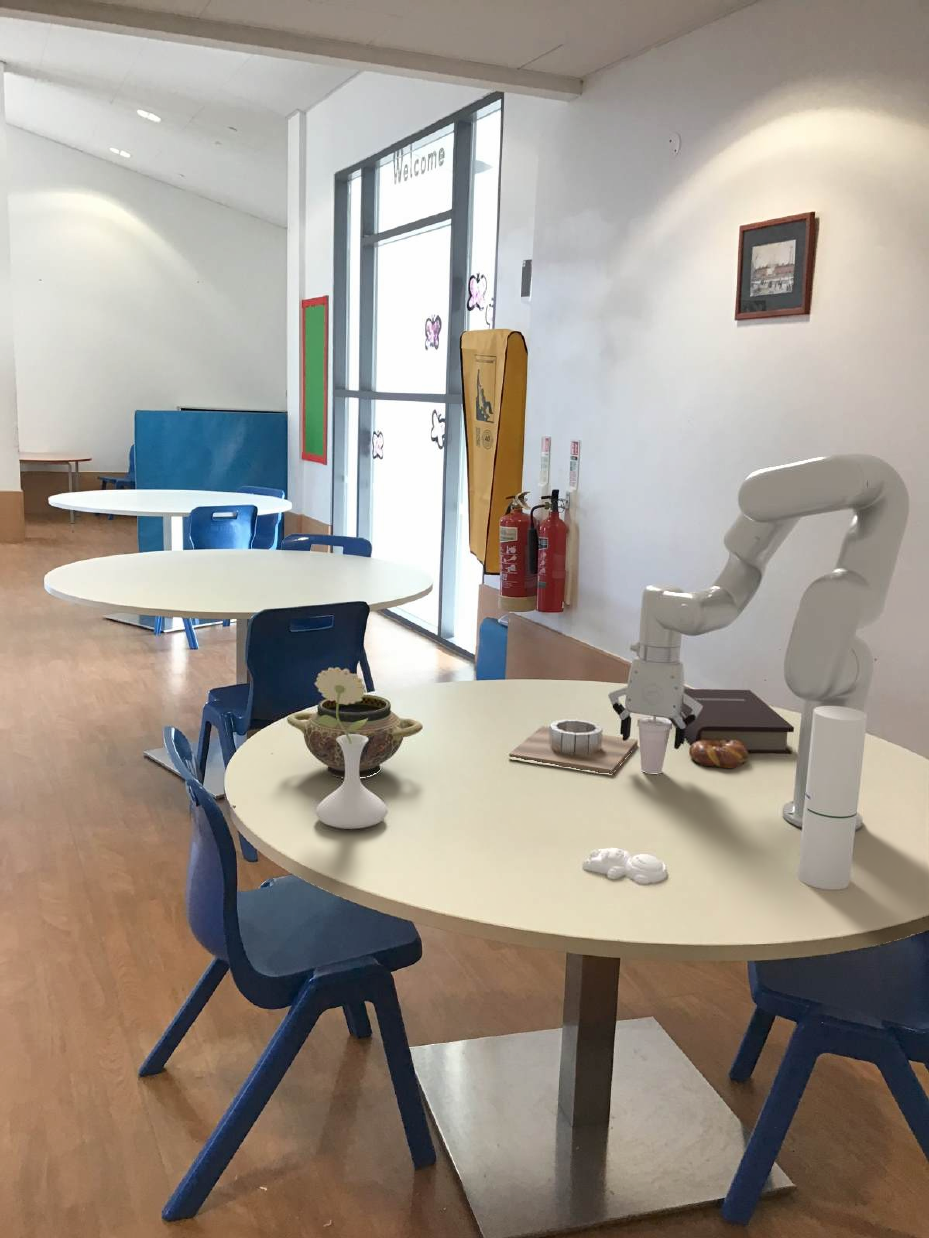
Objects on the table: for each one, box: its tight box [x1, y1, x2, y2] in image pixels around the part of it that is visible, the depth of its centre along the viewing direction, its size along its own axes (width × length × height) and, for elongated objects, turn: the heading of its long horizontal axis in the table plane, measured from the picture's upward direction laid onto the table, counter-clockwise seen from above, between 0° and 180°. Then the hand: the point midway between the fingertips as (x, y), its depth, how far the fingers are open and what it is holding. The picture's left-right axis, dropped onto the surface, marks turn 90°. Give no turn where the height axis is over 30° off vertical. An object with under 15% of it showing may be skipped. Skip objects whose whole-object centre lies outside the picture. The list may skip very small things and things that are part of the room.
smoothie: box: [636, 716, 673, 773], centre depth 198 cm, size 6×6×14 cm
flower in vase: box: [314, 666, 388, 830], centre depth 170 cm, size 13×11×25 cm
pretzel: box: [688, 739, 749, 769], centre depth 207 cm, size 12×11×4 cm
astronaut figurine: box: [581, 847, 668, 885], centre depth 157 cm, size 9×12×3 cm
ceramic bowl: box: [286, 694, 423, 778], centre depth 193 cm, size 24×18×15 cm
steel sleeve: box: [549, 718, 603, 755], centre depth 209 cm, size 10×10×4 cm
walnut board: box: [508, 725, 639, 774], centre depth 209 cm, size 20×20×1 cm
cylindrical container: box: [797, 706, 868, 891], centre depth 153 cm, size 7×7×25 cm
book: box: [669, 688, 795, 755], centre depth 225 cm, size 28×20×6 cm
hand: (651, 742), depth 199 cm, fingers open, 9 cm apart
